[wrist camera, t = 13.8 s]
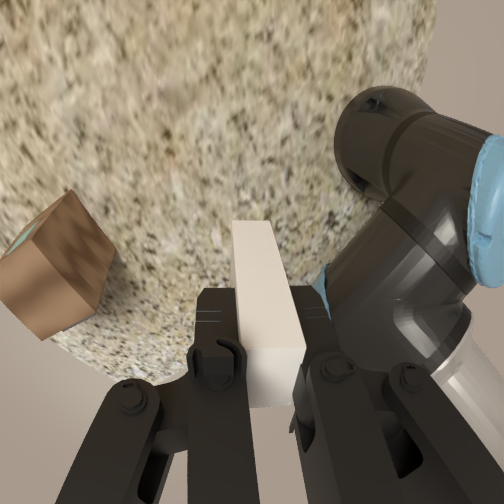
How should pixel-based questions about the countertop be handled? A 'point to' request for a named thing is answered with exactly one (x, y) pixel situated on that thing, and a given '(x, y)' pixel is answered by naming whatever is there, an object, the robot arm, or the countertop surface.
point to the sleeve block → (56, 269)
